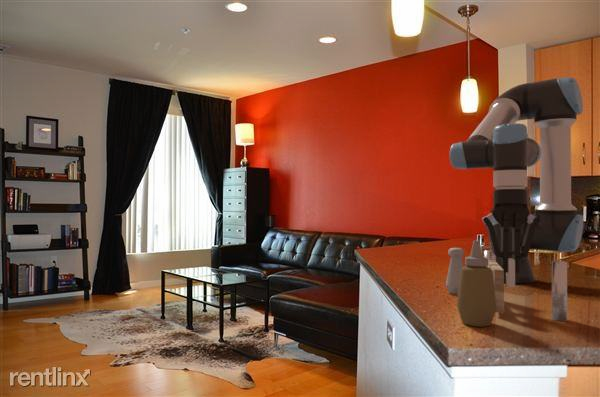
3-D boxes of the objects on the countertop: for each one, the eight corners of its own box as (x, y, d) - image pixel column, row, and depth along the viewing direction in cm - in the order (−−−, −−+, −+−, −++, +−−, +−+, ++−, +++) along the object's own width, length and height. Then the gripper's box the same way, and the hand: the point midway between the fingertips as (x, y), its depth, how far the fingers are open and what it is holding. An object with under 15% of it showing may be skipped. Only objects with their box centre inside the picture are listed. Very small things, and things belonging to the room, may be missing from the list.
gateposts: (481, 298, 123) (481, 250, 123) (490, 297, 124) (490, 250, 124) (560, 321, 99) (559, 262, 99) (570, 320, 100) (570, 262, 100)
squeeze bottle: (450, 319, 101) (450, 239, 101) (485, 318, 102) (485, 239, 102) (467, 329, 93) (466, 242, 93) (504, 328, 94) (504, 242, 94)
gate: (486, 295, 120) (486, 259, 121) (494, 296, 120) (494, 260, 120) (494, 311, 103) (494, 269, 103) (503, 312, 103) (503, 270, 103)
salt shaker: (468, 295, 126) (468, 249, 126) (447, 295, 127) (447, 248, 127) (465, 291, 132) (465, 247, 132) (444, 290, 133) (444, 246, 133)
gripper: (534, 188, 111) (535, 284, 111) (478, 189, 114) (479, 282, 114) (544, 187, 104) (544, 290, 104) (484, 188, 107) (484, 288, 107)
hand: (510, 286), depth 109 cm, fingers closed
